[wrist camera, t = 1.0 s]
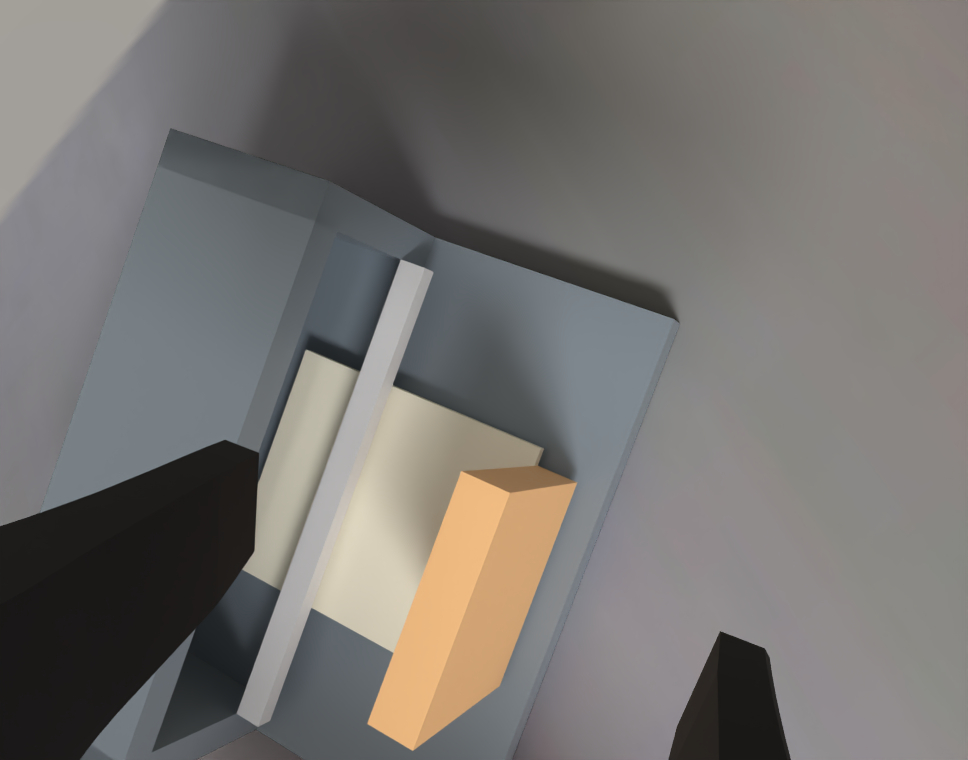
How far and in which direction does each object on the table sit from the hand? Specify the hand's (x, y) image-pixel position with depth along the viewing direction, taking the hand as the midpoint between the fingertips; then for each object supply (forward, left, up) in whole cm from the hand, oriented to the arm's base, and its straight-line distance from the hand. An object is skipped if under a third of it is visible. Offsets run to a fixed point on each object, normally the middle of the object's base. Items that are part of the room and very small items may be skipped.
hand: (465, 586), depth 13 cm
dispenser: (-2, +7, -12) cm, 15 cm away
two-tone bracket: (-2, +6, -11) cm, 13 cm away
